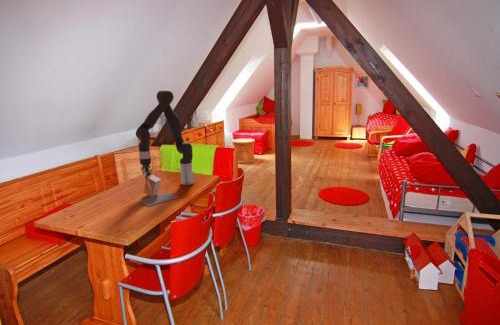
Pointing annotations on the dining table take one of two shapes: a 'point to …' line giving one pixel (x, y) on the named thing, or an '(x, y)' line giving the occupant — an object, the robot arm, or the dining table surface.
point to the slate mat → (158, 199)
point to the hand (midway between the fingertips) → (147, 180)
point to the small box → (152, 186)
